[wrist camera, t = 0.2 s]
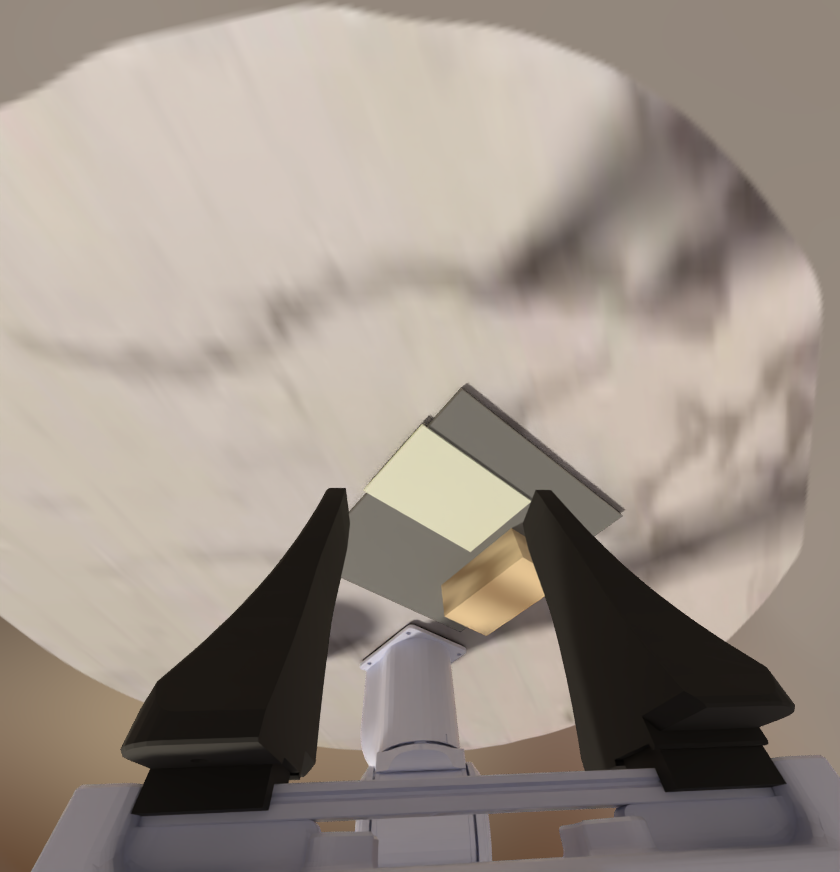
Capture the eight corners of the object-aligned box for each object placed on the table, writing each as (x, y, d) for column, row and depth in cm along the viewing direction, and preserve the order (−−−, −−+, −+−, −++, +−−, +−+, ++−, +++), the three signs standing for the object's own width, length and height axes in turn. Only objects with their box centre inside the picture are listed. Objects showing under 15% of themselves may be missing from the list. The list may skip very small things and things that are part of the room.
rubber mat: (459, 628, 35) (460, 634, 34) (302, 555, 29) (300, 561, 28) (619, 512, 28) (624, 517, 27) (455, 382, 21) (457, 386, 21)
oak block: (479, 604, 32) (486, 636, 30) (441, 585, 31) (444, 616, 28) (550, 553, 29) (564, 582, 26) (511, 527, 27) (522, 557, 25)
